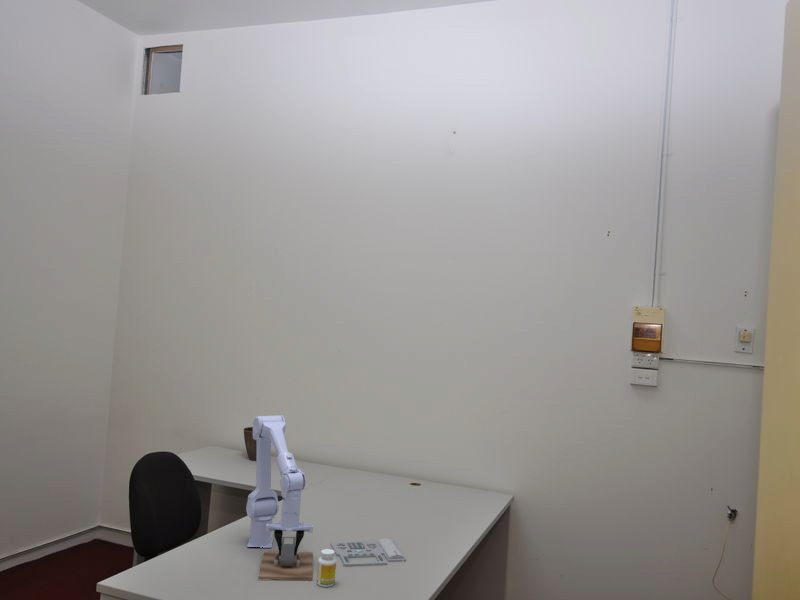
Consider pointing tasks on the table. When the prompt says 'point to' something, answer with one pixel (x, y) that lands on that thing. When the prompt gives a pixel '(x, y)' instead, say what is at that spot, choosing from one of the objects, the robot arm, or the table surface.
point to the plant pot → (250, 443)
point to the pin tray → (286, 567)
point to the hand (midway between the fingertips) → (287, 554)
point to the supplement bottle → (326, 568)
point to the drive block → (287, 551)
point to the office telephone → (368, 552)
